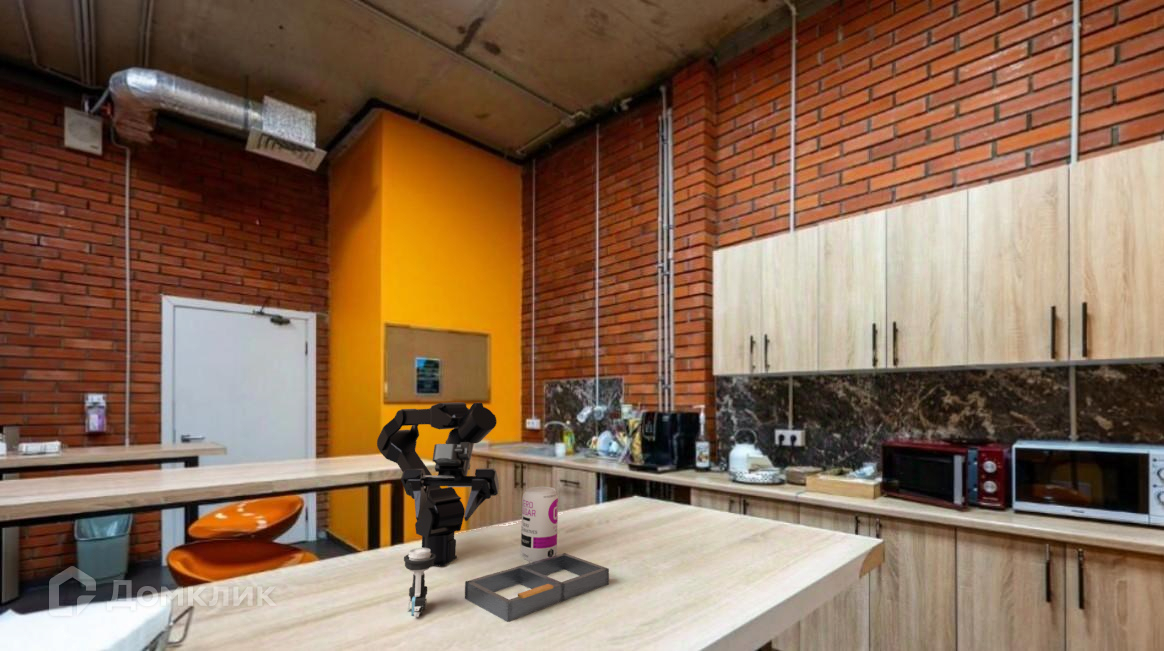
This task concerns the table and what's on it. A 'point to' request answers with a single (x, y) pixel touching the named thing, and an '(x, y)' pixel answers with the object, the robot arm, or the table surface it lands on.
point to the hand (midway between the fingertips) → (441, 519)
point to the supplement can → (539, 523)
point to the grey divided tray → (535, 585)
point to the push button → (418, 577)
